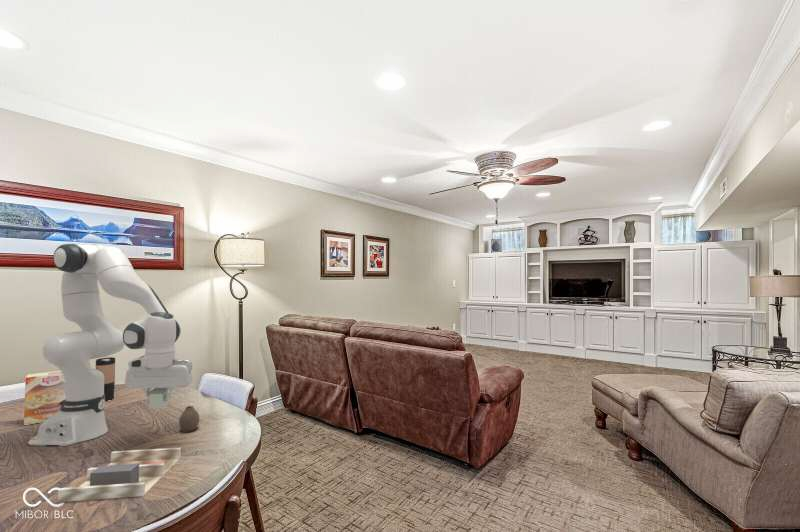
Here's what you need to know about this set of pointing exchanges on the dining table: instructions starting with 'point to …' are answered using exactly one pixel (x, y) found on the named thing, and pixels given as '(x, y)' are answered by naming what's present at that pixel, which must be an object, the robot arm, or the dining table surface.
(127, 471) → the charcoal block
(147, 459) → the rack
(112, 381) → the travel mug
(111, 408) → the dining table surface
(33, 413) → the coffeecake box
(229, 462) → the dining table surface
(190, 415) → the vase
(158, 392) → the grey rectangular block
